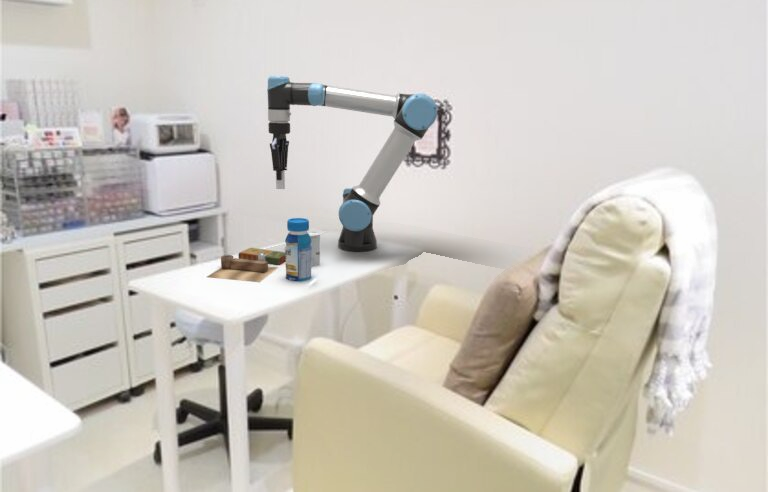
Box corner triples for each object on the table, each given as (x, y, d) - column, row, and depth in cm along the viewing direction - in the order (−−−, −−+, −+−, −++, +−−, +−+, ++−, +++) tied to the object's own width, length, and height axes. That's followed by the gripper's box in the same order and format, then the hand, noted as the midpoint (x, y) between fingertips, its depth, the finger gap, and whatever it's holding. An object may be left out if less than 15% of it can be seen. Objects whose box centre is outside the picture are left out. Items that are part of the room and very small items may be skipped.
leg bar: (219, 267, 195) (218, 256, 194) (225, 264, 198) (224, 252, 197) (263, 272, 191) (263, 260, 190) (268, 269, 195) (268, 257, 194)
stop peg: (266, 267, 198) (266, 252, 197) (264, 269, 196) (263, 254, 194) (260, 266, 198) (259, 252, 197) (257, 268, 196) (256, 254, 195)
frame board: (278, 270, 198) (278, 267, 198) (259, 285, 183) (259, 282, 183) (228, 266, 202) (228, 263, 201) (206, 280, 186) (205, 277, 186)
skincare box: (304, 271, 199) (304, 236, 196) (298, 267, 202) (298, 233, 199) (320, 268, 202) (320, 234, 199) (314, 265, 206) (314, 231, 202)
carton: (251, 258, 213) (251, 246, 212) (290, 263, 208) (290, 251, 207) (238, 264, 206) (238, 252, 205) (279, 269, 201) (278, 257, 199)
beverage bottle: (311, 285, 185) (311, 223, 180) (284, 285, 184) (283, 222, 179) (312, 276, 193) (312, 217, 188) (286, 276, 192) (285, 216, 187)
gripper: (282, 123, 199) (283, 192, 205) (295, 121, 211) (296, 186, 217) (261, 122, 200) (263, 191, 207) (276, 120, 213) (277, 185, 219)
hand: (280, 188), depth 212 cm, fingers closed
